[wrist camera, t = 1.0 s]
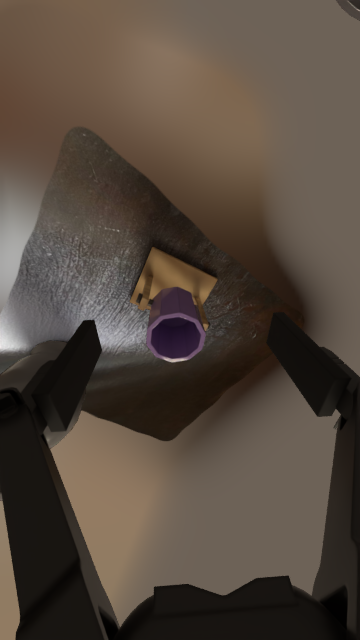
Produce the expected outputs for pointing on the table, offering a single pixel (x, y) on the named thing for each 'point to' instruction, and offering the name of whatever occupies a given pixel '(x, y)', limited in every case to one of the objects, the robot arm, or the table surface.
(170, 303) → the cup
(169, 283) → the swivel stand
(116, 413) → the table surface
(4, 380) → the vase
